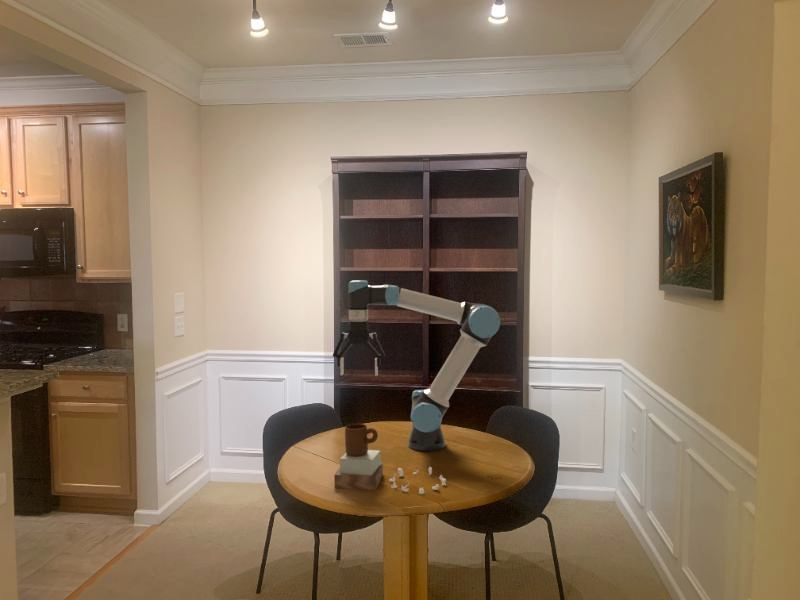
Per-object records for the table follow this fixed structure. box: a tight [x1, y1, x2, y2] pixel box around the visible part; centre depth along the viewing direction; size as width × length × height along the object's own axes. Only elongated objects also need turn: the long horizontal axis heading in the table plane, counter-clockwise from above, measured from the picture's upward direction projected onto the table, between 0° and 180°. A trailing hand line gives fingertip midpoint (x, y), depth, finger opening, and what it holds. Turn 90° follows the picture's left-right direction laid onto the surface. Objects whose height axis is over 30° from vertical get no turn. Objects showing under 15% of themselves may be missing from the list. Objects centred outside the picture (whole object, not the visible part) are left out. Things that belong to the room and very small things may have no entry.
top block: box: [339, 449, 382, 476], centre depth 198 cm, size 11×11×5 cm
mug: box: [344, 423, 378, 456], centre depth 198 cm, size 12×8×9 cm, turn 65°
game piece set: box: [388, 466, 447, 495], centre depth 197 cm, size 19×20×4 cm
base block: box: [333, 461, 384, 491], centre depth 199 cm, size 14×14×5 cm
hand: (359, 375), depth 225 cm, fingers open, 13 cm apart
